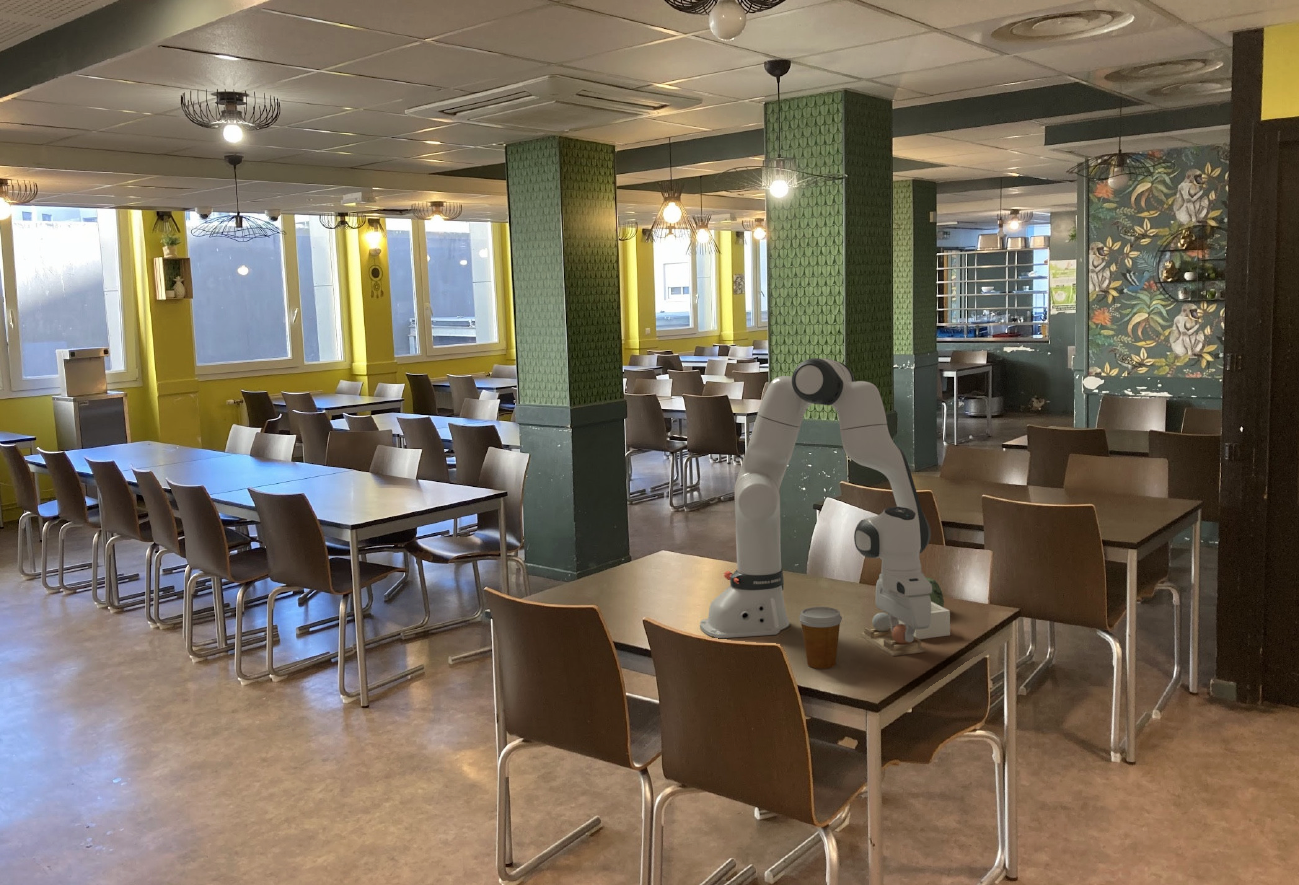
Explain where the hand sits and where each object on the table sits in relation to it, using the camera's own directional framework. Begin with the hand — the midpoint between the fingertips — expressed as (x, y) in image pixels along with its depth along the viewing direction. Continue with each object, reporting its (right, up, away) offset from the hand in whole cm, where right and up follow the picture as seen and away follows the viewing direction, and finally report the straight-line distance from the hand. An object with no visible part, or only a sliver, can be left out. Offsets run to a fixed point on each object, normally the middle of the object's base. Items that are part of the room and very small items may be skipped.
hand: (902, 637), depth 244 cm
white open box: (+8, -1, +13) cm, 15 cm away
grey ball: (-3, +2, +9) cm, 10 cm away
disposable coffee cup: (-20, -5, -7) cm, 21 cm away
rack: (-1, -2, +5) cm, 6 cm away
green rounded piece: (+10, +1, +29) cm, 30 cm away
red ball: (0, +1, 0) cm, 1 cm away
